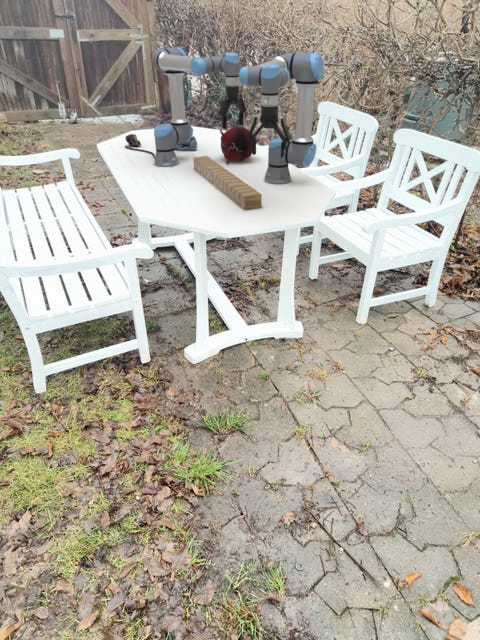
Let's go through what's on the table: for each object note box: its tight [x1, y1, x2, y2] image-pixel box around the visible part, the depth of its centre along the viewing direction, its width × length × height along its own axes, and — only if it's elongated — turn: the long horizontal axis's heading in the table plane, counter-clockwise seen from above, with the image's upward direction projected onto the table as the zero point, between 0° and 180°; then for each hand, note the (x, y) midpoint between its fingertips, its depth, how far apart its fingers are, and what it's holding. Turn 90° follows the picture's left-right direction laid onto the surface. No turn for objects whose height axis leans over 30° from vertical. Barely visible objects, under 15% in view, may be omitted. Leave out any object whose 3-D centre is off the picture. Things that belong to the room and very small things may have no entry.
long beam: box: [192, 155, 263, 211], centre depth 254 cm, size 80×9×7 cm, turn 23°
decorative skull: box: [219, 126, 258, 165], centre depth 296 cm, size 21×24×25 cm
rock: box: [125, 133, 142, 147], centre depth 332 cm, size 12×9×10 cm
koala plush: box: [174, 127, 198, 152], centre depth 321 cm, size 17×18×20 cm
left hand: (233, 126), depth 260 cm, fingers open, 13 cm apart
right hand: (268, 155), depth 208 cm, fingers open, 13 cm apart
